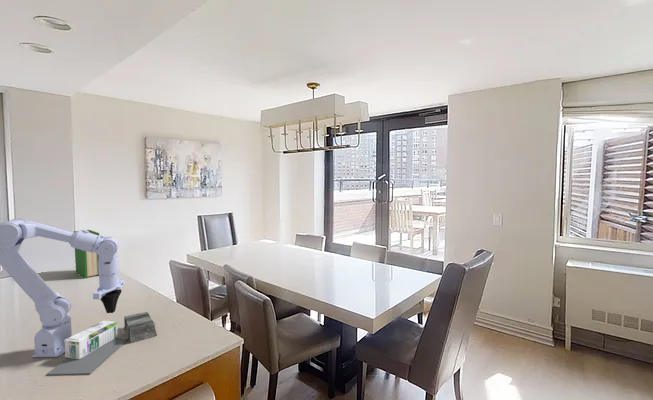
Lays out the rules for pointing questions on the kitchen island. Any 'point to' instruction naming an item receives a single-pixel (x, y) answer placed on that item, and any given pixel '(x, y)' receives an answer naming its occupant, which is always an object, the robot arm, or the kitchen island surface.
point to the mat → (88, 360)
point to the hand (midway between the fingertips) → (110, 312)
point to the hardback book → (87, 261)
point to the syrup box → (90, 339)
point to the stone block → (139, 327)
